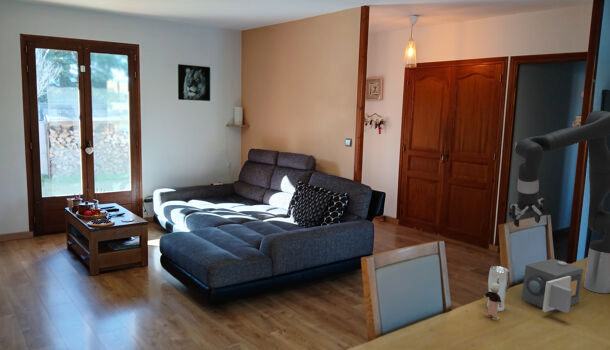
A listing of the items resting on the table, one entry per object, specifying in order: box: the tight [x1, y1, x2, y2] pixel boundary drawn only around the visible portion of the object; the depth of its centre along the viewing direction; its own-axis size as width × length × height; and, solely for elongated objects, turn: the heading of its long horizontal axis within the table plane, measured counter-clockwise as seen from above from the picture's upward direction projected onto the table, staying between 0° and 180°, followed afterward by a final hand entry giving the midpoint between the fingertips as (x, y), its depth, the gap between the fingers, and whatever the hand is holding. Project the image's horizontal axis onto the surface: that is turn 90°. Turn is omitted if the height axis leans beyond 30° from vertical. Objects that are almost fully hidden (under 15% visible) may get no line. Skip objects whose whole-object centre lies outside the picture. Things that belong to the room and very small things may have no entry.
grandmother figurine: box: [483, 283, 502, 321], centre depth 160 cm, size 8×4×13 cm, turn 37°
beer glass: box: [486, 265, 510, 312], centre depth 167 cm, size 7×7×15 cm
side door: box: [542, 276, 572, 313], centre depth 162 cm, size 14×7×11 cm, turn 121°
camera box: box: [521, 258, 584, 313], centre depth 174 cm, size 21×12×15 cm, turn 121°
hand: (526, 223), depth 186 cm, fingers open, 8 cm apart
